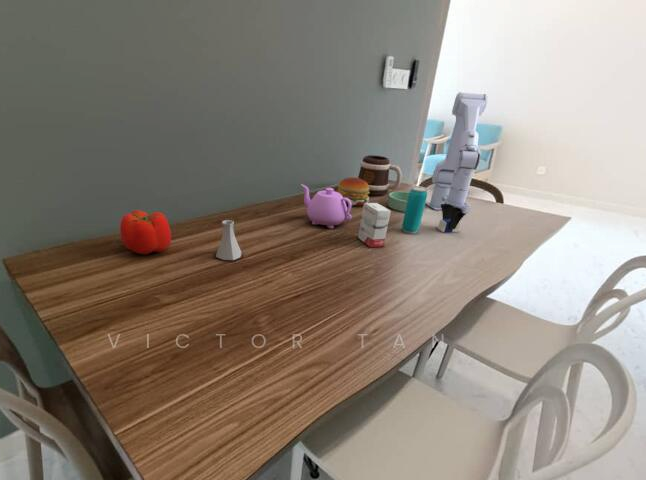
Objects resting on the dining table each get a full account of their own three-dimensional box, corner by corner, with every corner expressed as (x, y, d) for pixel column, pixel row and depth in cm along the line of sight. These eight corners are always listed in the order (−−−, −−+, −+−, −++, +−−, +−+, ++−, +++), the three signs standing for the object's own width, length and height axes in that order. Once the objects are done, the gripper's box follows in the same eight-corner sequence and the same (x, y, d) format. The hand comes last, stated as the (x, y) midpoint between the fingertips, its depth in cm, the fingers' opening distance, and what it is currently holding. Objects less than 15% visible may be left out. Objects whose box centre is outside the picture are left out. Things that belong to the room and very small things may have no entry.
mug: (349, 192, 175) (354, 157, 168) (359, 185, 187) (364, 152, 179) (394, 200, 168) (401, 164, 161) (401, 193, 180) (408, 159, 172)
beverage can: (416, 229, 139) (426, 186, 132) (419, 235, 134) (430, 191, 127) (400, 227, 140) (409, 185, 132) (402, 233, 135) (412, 190, 127)
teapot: (289, 221, 138) (291, 187, 132) (307, 211, 149) (309, 179, 143) (342, 234, 131) (347, 198, 125) (356, 222, 142) (362, 188, 135)
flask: (245, 253, 113) (245, 220, 108) (234, 263, 108) (234, 228, 102) (223, 248, 115) (222, 215, 110) (211, 258, 109) (209, 223, 104)
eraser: (452, 228, 142) (454, 218, 140) (457, 232, 139) (460, 222, 138) (437, 228, 141) (440, 219, 139) (442, 232, 138) (445, 222, 136)
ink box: (384, 246, 124) (391, 210, 118) (370, 248, 122) (377, 211, 116) (370, 236, 131) (376, 201, 125) (357, 237, 129) (363, 202, 123)
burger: (336, 196, 169) (338, 172, 164) (367, 199, 168) (371, 175, 162) (334, 206, 157) (337, 180, 152) (368, 209, 156) (373, 184, 151)
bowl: (412, 202, 168) (414, 191, 166) (429, 212, 157) (431, 201, 154) (381, 202, 165) (383, 191, 163) (396, 213, 154) (399, 202, 151)
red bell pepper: (112, 254, 108) (106, 217, 103) (143, 237, 119) (139, 203, 113) (154, 263, 104) (150, 226, 99) (182, 246, 115) (179, 211, 110)
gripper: (437, 182, 138) (428, 219, 145) (461, 194, 126) (450, 234, 133) (455, 182, 139) (445, 219, 146) (480, 194, 127) (468, 233, 134)
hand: (448, 226), depth 140 cm, fingers closed on eraser, 3 cm apart
